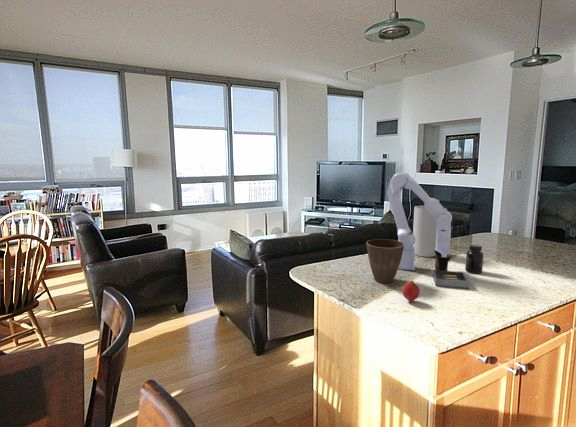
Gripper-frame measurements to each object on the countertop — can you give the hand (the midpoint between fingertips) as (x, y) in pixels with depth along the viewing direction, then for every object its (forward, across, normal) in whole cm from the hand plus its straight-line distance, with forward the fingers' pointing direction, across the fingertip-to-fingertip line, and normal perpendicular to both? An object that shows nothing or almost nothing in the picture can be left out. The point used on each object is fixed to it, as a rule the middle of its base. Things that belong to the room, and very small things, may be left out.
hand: (441, 268), depth 158 cm
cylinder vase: (+2, +30, +5) cm, 30 cm away
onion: (+2, -38, +14) cm, 41 cm away
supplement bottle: (+2, +5, -14) cm, 15 cm away
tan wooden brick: (+2, 0, 0) cm, 2 cm away
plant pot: (+2, -18, +24) cm, 30 cm away
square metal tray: (+2, -13, -2) cm, 13 cm away
